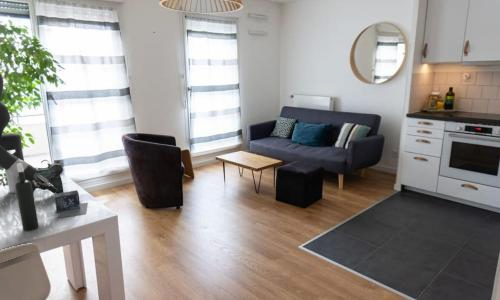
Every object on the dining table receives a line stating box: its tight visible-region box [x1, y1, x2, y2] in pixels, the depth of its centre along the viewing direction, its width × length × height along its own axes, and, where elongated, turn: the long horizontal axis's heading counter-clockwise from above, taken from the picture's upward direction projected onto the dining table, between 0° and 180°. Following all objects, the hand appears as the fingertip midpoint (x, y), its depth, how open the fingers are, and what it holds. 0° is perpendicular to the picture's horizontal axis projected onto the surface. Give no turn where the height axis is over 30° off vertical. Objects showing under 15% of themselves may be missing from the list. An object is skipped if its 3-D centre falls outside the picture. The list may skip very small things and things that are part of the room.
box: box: [53, 189, 81, 213], centre depth 165 cm, size 8×6×11 cm
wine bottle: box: [15, 163, 40, 232], centre depth 143 cm, size 6×6×30 cm
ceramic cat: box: [31, 159, 64, 196], centre depth 180 cm, size 20×6×20 cm, turn 136°
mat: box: [57, 202, 89, 219], centre depth 165 cm, size 14×12×1 cm
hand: (56, 191), depth 161 cm, fingers closed
